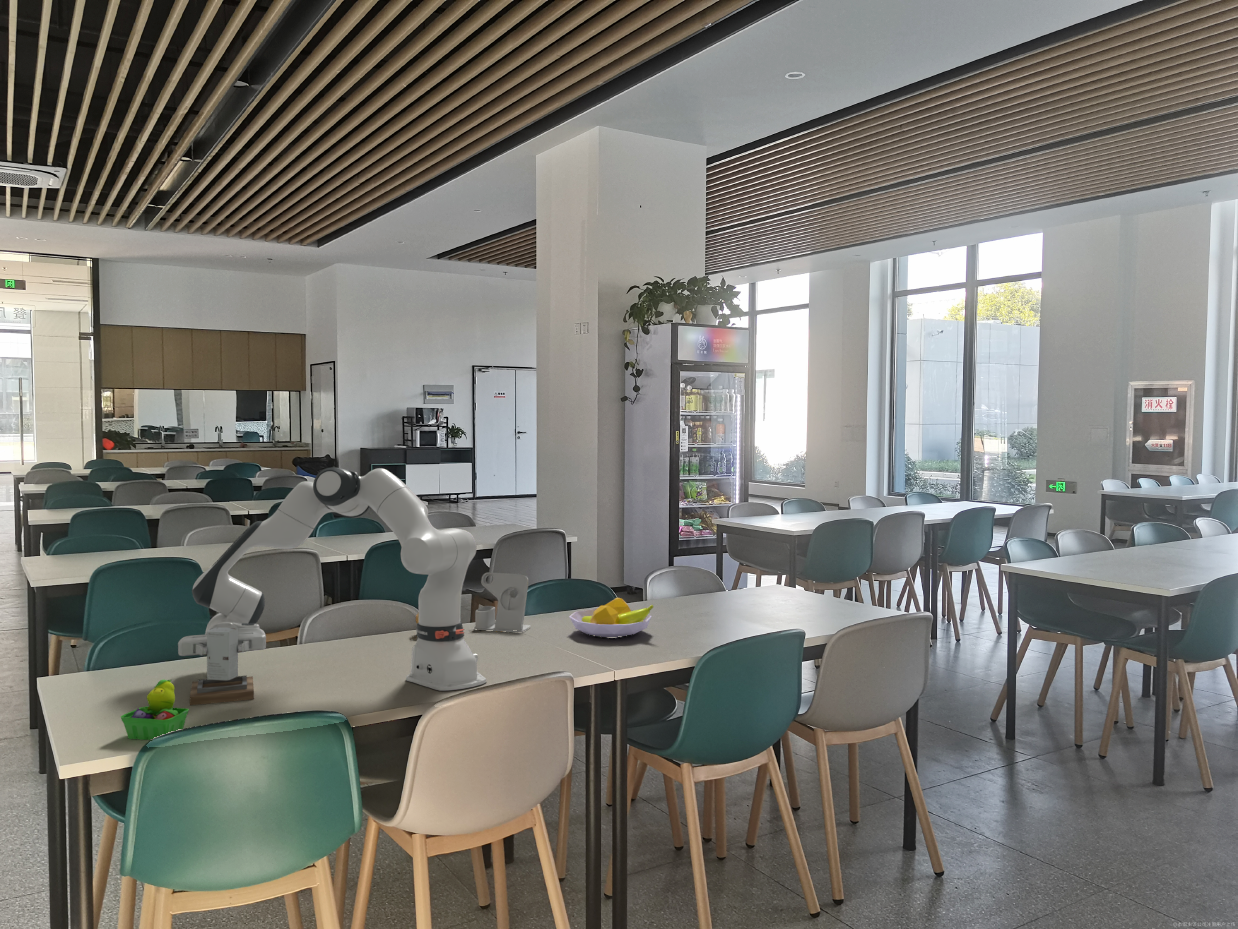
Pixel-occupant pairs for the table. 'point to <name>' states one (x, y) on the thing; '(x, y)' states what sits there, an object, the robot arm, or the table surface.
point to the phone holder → (504, 603)
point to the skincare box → (222, 653)
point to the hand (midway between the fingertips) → (222, 650)
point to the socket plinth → (221, 690)
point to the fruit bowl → (612, 619)
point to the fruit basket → (155, 714)
